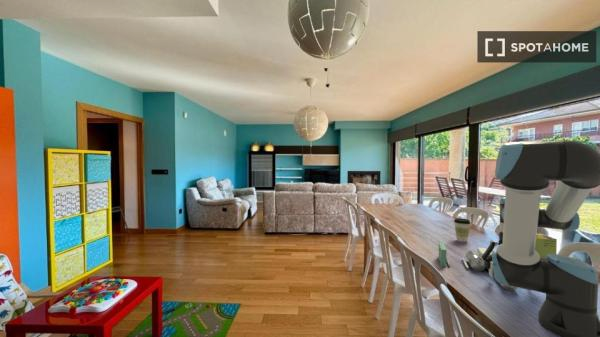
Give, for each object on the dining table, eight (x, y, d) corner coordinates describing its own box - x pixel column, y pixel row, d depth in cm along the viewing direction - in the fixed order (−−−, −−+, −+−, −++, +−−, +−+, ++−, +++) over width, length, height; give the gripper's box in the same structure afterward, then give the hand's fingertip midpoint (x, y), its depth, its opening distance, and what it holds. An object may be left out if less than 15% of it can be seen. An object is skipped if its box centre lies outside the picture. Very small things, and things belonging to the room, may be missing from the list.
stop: (446, 266, 133) (446, 250, 133) (441, 266, 134) (441, 249, 134) (443, 257, 146) (443, 242, 146) (438, 257, 147) (438, 241, 147)
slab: (521, 264, 122) (521, 258, 122) (481, 259, 128) (482, 253, 128) (514, 257, 131) (514, 251, 131) (477, 252, 137) (477, 247, 137)
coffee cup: (450, 239, 180) (450, 218, 180) (460, 238, 183) (461, 217, 183) (463, 243, 171) (463, 221, 170) (473, 242, 174) (474, 220, 173)
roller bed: (523, 278, 120) (523, 265, 120) (470, 270, 129) (471, 258, 128) (512, 267, 133) (512, 255, 133) (465, 260, 141) (465, 250, 141)
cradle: (468, 270, 129) (468, 267, 129) (448, 267, 133) (448, 264, 133) (463, 260, 142) (463, 257, 142) (445, 257, 145) (445, 255, 145)
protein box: (556, 268, 130) (557, 239, 130) (522, 266, 134) (523, 237, 133) (541, 261, 141) (542, 233, 140) (510, 258, 144) (510, 232, 143)
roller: (521, 288, 107) (511, 275, 108) (506, 293, 109) (497, 280, 110) (510, 276, 118) (502, 265, 119) (498, 281, 120) (490, 269, 121)
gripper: (542, 232, 111) (541, 279, 112) (474, 227, 121) (474, 270, 122) (550, 237, 104) (549, 287, 105) (478, 231, 114) (477, 276, 115)
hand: (509, 278), depth 114 cm, fingers open, 13 cm apart
